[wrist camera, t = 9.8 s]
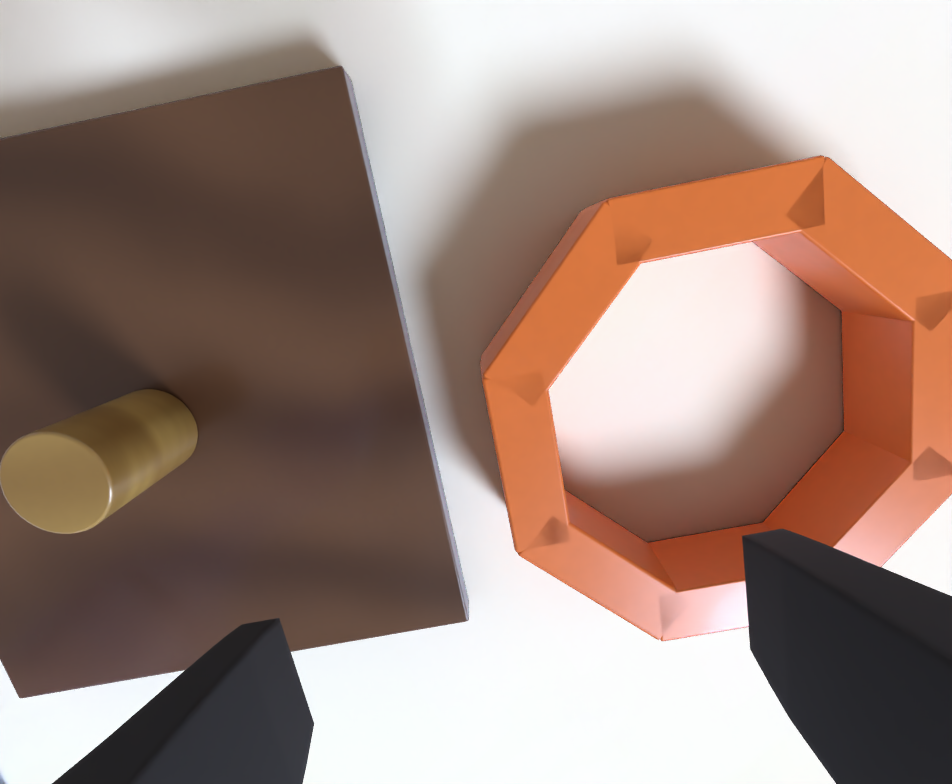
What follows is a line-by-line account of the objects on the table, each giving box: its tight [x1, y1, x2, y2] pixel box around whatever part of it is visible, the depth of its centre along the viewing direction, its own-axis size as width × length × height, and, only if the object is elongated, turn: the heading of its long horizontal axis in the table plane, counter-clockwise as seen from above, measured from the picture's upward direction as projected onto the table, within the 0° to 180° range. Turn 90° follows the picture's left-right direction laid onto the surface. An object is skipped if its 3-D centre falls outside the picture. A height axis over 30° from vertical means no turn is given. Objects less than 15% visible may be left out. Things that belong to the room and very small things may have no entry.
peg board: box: [0, 66, 469, 698], centre depth 14 cm, size 16×15×5 cm
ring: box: [480, 155, 952, 641], centre depth 15 cm, size 12×12×3 cm
